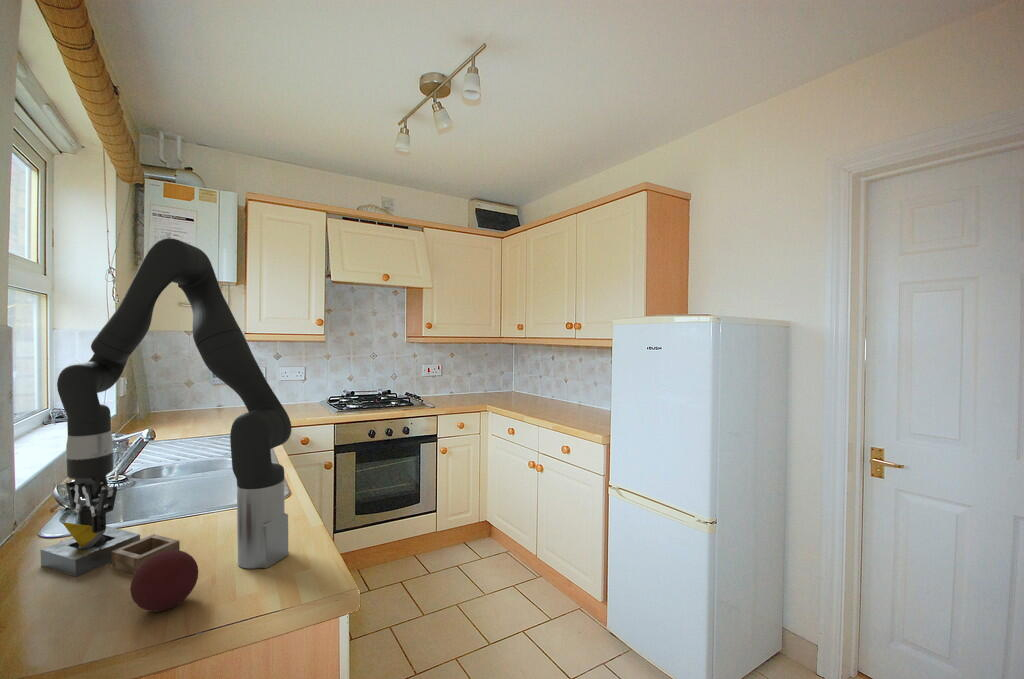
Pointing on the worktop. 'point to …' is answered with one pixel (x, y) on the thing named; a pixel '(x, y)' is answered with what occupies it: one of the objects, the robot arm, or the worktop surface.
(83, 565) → the hub plate
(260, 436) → the robot arm
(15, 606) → the worktop surface
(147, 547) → the wooden square frame
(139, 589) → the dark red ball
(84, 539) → the drill bit
